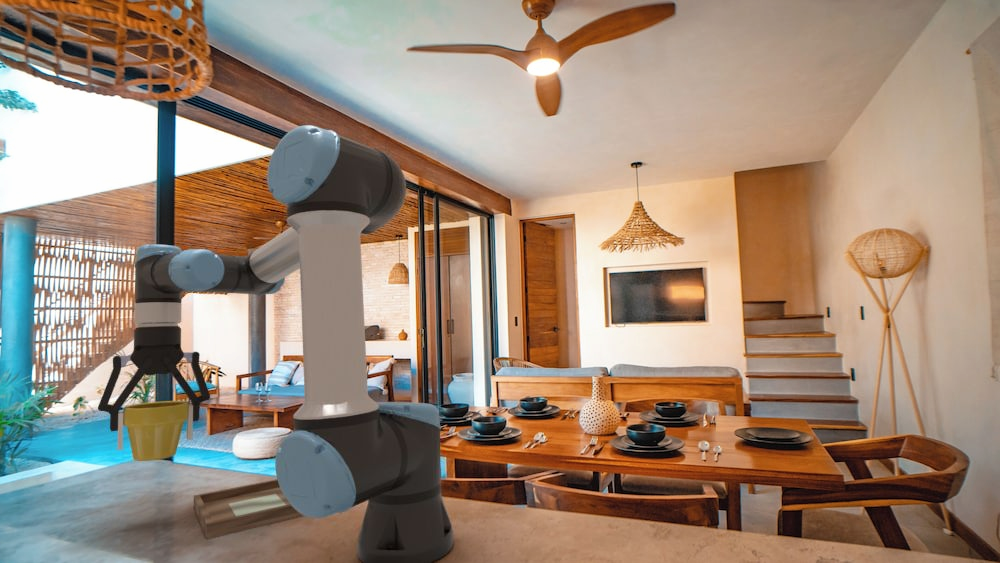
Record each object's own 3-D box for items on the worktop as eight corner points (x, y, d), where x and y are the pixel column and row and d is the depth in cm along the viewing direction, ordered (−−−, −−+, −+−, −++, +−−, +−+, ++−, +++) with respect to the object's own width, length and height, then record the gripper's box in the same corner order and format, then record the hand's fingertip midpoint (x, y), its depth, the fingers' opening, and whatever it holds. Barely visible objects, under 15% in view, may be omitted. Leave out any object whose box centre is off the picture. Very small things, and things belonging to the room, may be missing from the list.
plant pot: (200, 449, 100) (201, 399, 101) (161, 463, 90) (162, 407, 91) (151, 450, 101) (152, 400, 102) (106, 464, 91) (108, 409, 92)
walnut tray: (323, 510, 100) (323, 498, 100) (206, 539, 88) (206, 524, 88) (295, 486, 116) (295, 475, 116) (193, 507, 104) (193, 495, 104)
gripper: (221, 324, 108) (220, 431, 106) (83, 328, 94) (79, 450, 92) (227, 323, 102) (226, 436, 100) (80, 327, 88) (76, 458, 86)
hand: (155, 443), depth 96 cm, fingers closed on plant pot, 10 cm apart
